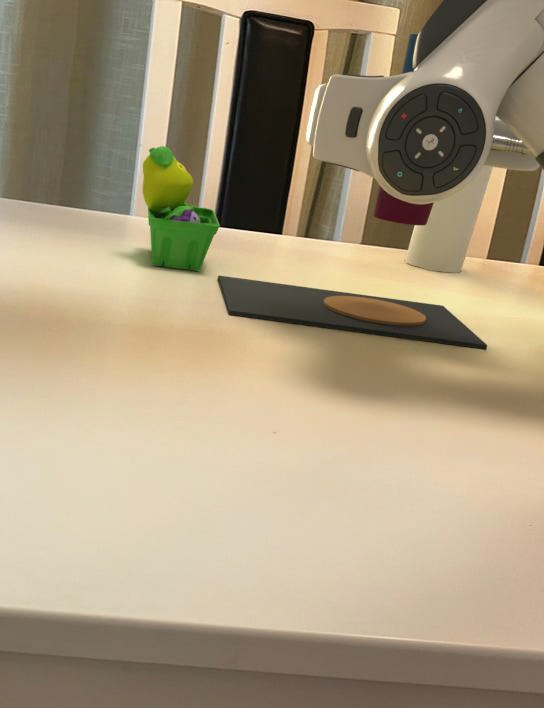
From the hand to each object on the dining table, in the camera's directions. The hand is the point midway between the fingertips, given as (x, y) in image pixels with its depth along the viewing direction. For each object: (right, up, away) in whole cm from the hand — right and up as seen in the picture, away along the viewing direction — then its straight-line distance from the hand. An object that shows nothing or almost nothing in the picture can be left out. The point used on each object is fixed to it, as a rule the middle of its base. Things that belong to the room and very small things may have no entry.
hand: (424, 126), depth 93 cm
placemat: (-6, -15, +7) cm, 17 cm away
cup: (-1, -7, +3) cm, 8 cm away
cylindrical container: (+15, +1, +38) cm, 40 cm away
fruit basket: (-22, -5, +20) cm, 30 cm away
